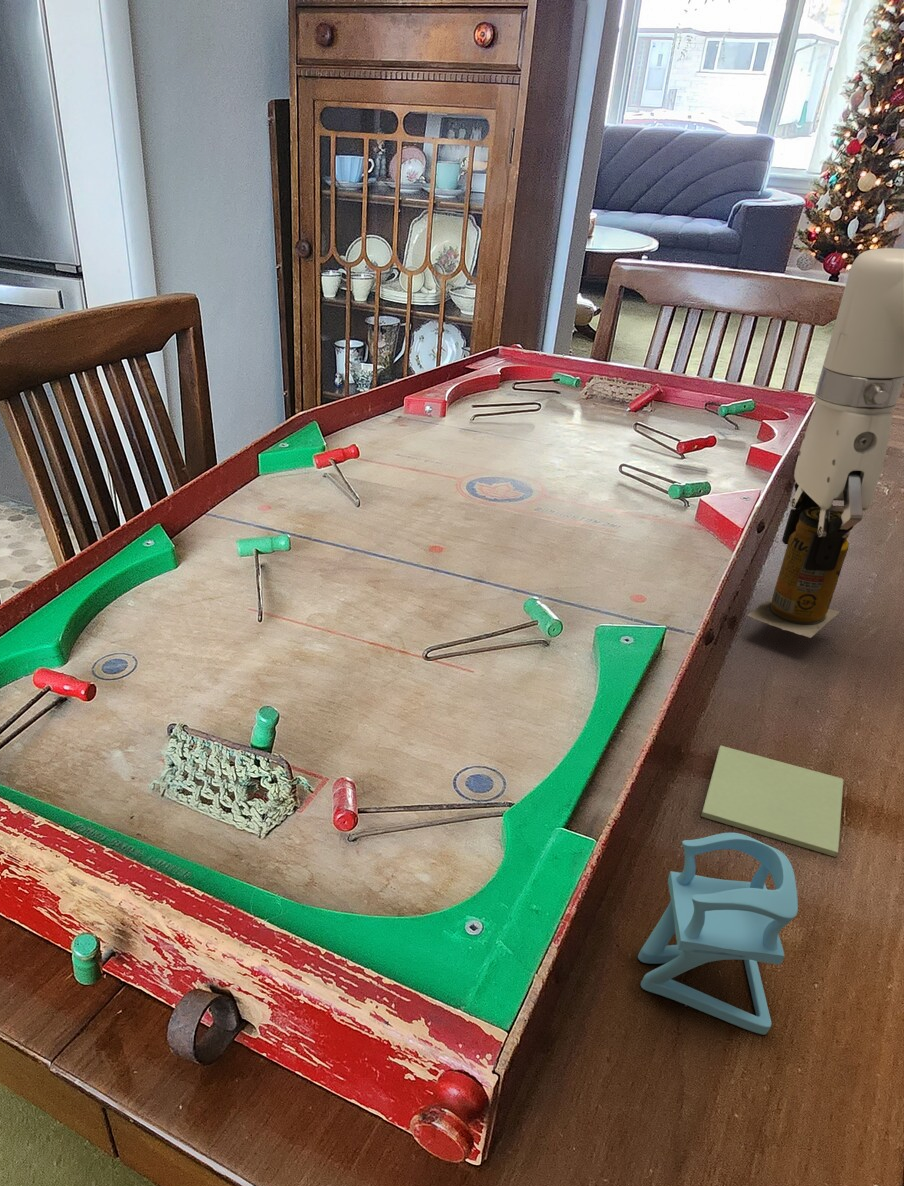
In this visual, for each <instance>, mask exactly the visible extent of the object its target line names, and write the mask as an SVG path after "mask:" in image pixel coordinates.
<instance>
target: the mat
mask: <svg viewBox="0 0 904 1186" xmlns="http://www.w3.org/2000/svg"><path fill="white" fill-rule="evenodd" d="M712 769H713V770H712V774H711V776H710V777H711V778H710V781H709V784H708V787H707V792H706V796H705V800H704V804H703V807H702V810H701V814H700V817H701V818H704V819H708V820H711V821H715V822H717V823H721V824H725V825H727V826H732V827H735V828H738V829H741V830H744V831H747V832H751V833H754V834H757V835H760V836H764V837H767V838H771V839H774V840H777V841H781V842H784V843H788V844H790V845H794V846H798V847H800V848H804V849H807V850H810V851H814V852H817V853H821V854H824V855H826V856H831V857H834V858H836V857H837V856H838V854H839V848H840V833H841V821H842V807H843V806H842V805H843V792H844V791H843V790H844V778H841V777H839V776H838V777H837V776H834V775H831V774H826V773H823V772H821V771H820V772H819V771H816V770H812V769H808V768H806V767H801V766H798V765H795V764H790V763H787V762H783V761H779V760H775V759H772V758H770V757H769V758H768V757H765V756H762V755H757V754H754V753H750V752H746V751H743V750H739V749H735V748H732V747H728V746H724V745H719V747H718V751H717V755H716V759H715V762H714V766H713V768H712Z"/></svg>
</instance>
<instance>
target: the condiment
mask: <svg viewBox="0 0 904 1186" xmlns="http://www.w3.org/2000/svg"><path fill="white" fill-rule="evenodd" d="M820 509H821V507H820V506H819V507H810V508H807V509H804V510H803V511H802V513H801V514H800V515H799V522H798V524H797V526H796V531H794V532H793V533H792V534H791V535H790V538H789V541H788V544H786V549H785V552H784V556H783V559H782V562H781V563H782V564H781V567H780V569H779V574H778V576H777V580H776V584H775V587H774V590H773V593H772V595H771V597H769V598H768V599H767V600H766V601H764V602H763V603H761V604H759V605H758V606H757V607H756V608H755V609H754V610H752V611H751V612H749V613H748V614H747V615H746V616H748V617H749V618H753V620H756V621H759V622H761V623H765V624H767V625H769V626H772V627H776V628H778V629H781V630H782V631H788V632H791V633H794V634H796V635H799V636H804V637H806V638H810V639H811V638H812V637H814V636H815V635H816V634H817V633H818V632H819V631H820V630H821V629H822V628H823V627H825V626H826V625H827V624H828V623H829V622H830V621H832V619H834V618H835V617H836V616H837V615H839V613H840V610H836V609H833V608H830V605H831V602H832V599H833V597H834V593H835V591H836V588H837V585H838V582H839V577H840V575H841V572H842V571H841V570H842V568H843V565H844V562H845V559H846V557H847V554H848V551H849V546H850V545H849V540H848V538H849V536H850V533H851V530H850V531H849V535H848V537H847V538H845V539H844V542H843V545H842V548H841V552H840V555H839V558H838V561H837V564H836V567H835V569H834V570H832V571H819V570H806V569H805V568H804V567H803V564H804V561H805V558H806V554H807V551H808V548H809V545H810V541H811V538H812V535H813V533H817V532H818V524H819V516H820ZM840 516H841V512H830V517H829V522H831V521H832V520H833V519H834V518H836V517H838V518H839V517H840Z"/></svg>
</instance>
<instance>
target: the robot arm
mask: <svg viewBox="0 0 904 1186" xmlns="http://www.w3.org/2000/svg"><path fill="white" fill-rule="evenodd" d="M903 385H904V248H895V247H883V248H881V247H880V248H872V249H869V250H865V251H863V252H861V253H860V254H859V255H857V257H856V258H855V259H854V261H853V262H852V265H851V266H850V269H849V273H848V275H847V279H846V282H845V286H844V290H843V294H842V297H841V301H840V304H839V307H838V311H837V315H836V319H835V322H834V326H833V329H832V333H831V336H830V339H829V343H828V347H827V351H826V354H825V357H824V361H823V365H822V369H821V371H820V375H819V379H818V382H817V386H816V389H815V393H814V397H813V402H815V406H814V408H813V411H812V413H811V416H810V418H809V422H808V424H807V427H806V430H805V432H804V436H803V439H802V442H801V445H800V449H799V452H798V456H797V459H796V464H795V468H794V474H793V478H794V480H795V481H794V482H795V484H794V490H795V492H794V495H793V496H792V499H791V502H790V507H791V508H790V511H789V514H788V518H787V521H786V525H785V528H784V532H783V535H782V539H781V541H782V543H783V544H784V545H788V541H789V538H790V535H791V534H792V533H793V532H794V531H796V526H797V524H798V522H799V515H800V514H801V513H802V511H803V510H804V509H807V508H810V507H821V509H820V516H819V524H818V532H817V533H813V535H812V538H811V541H810V545H809V548H808V551H807V554H806V558H805V561H804V564H803V567H804V568H805V569H806V570H819V571H832V570H834V569H835V567H836V564H837V561H838V558H839V555H840V552H841V548H842V545H843V542H844V539H845V538H847V537H848V538H849V536H850V534H849V531H850V532H851V531H852V530H853V528H854V527H855V526H856V525H857V524H858V523H860V522H861V521H862V520H863V517H864V513H863V512H864V511H868V509H870V507H871V506H872V503H873V500H874V496H875V493H876V490H877V487H878V484H879V480H880V477H881V473H882V470H883V466H884V462H885V459H886V454H887V450H888V445H889V442H890V436H891V430H892V424H893V416H894V414H893V413H892V412H893V411H895V409H896V407H897V404H898V401H899V398H900V395H901V392H902V389H903ZM834 501H839V502H840V501H843V505H834V504H833V503H834ZM830 512H841V516H840V517H839V518H838V517H836V518H834V519H833V520H832V521H831V522H829V517H830ZM848 535H849V536H848ZM848 538H847V539H848Z"/></svg>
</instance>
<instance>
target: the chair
mask: <svg viewBox="0 0 904 1186" xmlns="http://www.w3.org/2000/svg"><path fill="white" fill-rule="evenodd" d="M681 843H682V847H683V852H684V864H683V865H684V866H683V869H682V871H681V872H679V871H672V870H671V871H670V872H669V875H668V878H667V884H668V885H667V886H668V891H669V892H668V893H669V896H670V901H669V903H668V904H667V907H666V908H665V910H664V912H663V914H662V915H661V917H660V919H659V920H658V922H657V923H656V925H655V927H654V928H653V929H652V932H651V933H650V935H649V936H648V938H647V939H646V941H645V942H644V944H643V945H642V947H641V948H640V950H639V952H638V955H637V959H638V960H639V961H640V962H641V963H643V964H649V965H650V964H651V965H659V964H661V965H660V966H658V967H656V968H654V969H652V970H650V971H648V972H646V973H645V974H644V976H643V978H642V980H641V981H640V983H639V984H640V988H641V989H642V990H644V991H646V992H649V993H651V994H656V995H659V996H660V997H661V996H662V997H665V998H667V999H669V1000H673V1001H675V1002H677V1003H680V1004H683V1005H685V1006H688V1007H690V1008H693V1009H694V1010H698V1011H700V1012H701V1013H705V1014H707V1015H709V1016H711V1017H715V1018H717V1019H719V1020H721V1021H724V1022H726V1023H729V1024H731V1025H734V1026H736V1027H739V1028H741V1029H744V1030H747V1031H749V1032H752V1033H755V1034H758V1035H764V1036H765V1035H767V1034H768V1033H769V1030H770V1029H771V1027H772V1024H773V1023H772V1018H771V1014H770V1011H769V1007H768V1003H767V998H766V994H765V990H764V985H763V982H762V981H763V980H762V977H761V973H760V968H759V963H765V964H770V965H771V964H772V965H777V966H781V965H782V963H783V961H784V959H785V957H786V956H785V951H784V948H783V943H782V940H781V937H780V934H779V933H780V932H781V931H782V930H783V929H784V928H785V927H786V926H787V925H789V923H791V922H792V921H793V920H794V919H795V918H796V917H797V914H798V911H799V901H798V900H799V899H798V889H797V888H798V887H797V882H796V875H795V871H794V868H793V866H792V863H791V862H790V859H789V858H788V857H787V855H786V854H785V853H784V852H783V851H781V850H779V849H778V848H775V847H773V846H771V845H768V844H767V843H764V842H762V841H760V840H758V839H756V838H753V837H752V836H749V835H746V834H743V833H738V832H722V833H716V834H713V835H709V836H705V837H701V838H696V839H684V840H682V842H681ZM720 850H734V851H737V852H742V853H744V854H747V855H748V856H750V857H752V858H754V859H755V860H756V861H758V862H759V863H761V864H759V867H758V868H757V870H756V872H755V873H754V874H753V876H752V878H751V880H750V881H743V880H732V879H723V878H715V877H707V876H703V875H698V874H696V870H697V869H696V868H697V866H696V865H697V864H696V857H695V856H697V855H701V854H704V853H708V852H713V851H720ZM769 874H770V875H771V877H772V880H773V884H774V887H775V889H768V887H767V884H766V880H767V878H768V876H769ZM673 936H675V939H676V940H675V941H676V944H671V945H670V944H669V943H670V941H671V939H672V938H673ZM716 961H743V963H744V967H745V971H746V976H747V980H748V985H749V991H750V994H751V998H752V1004H753V1008H754V1012H755V1014H752V1013H750V1012H748V1011H746V1010H743V1009H741V1008H738V1007H737V1006H733V1005H732V1004H730V1003H728V1002H725V1001H722V1000H720V999H718V998H715V997H714V996H712V995H709V994H707V993H704V992H702V991H699V990H698V989H696V988H693V987H691V986H688V985H686V984H683V983H681V982H679V981H676V980H675V979H674V978H677V977H678V976H679V975H682V974H684V973H685V972H688V971H690V970H692V969H695V968H698V967H700V966H702V965H704V964H709V963H713V962H716ZM758 962H759V963H758Z"/></svg>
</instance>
